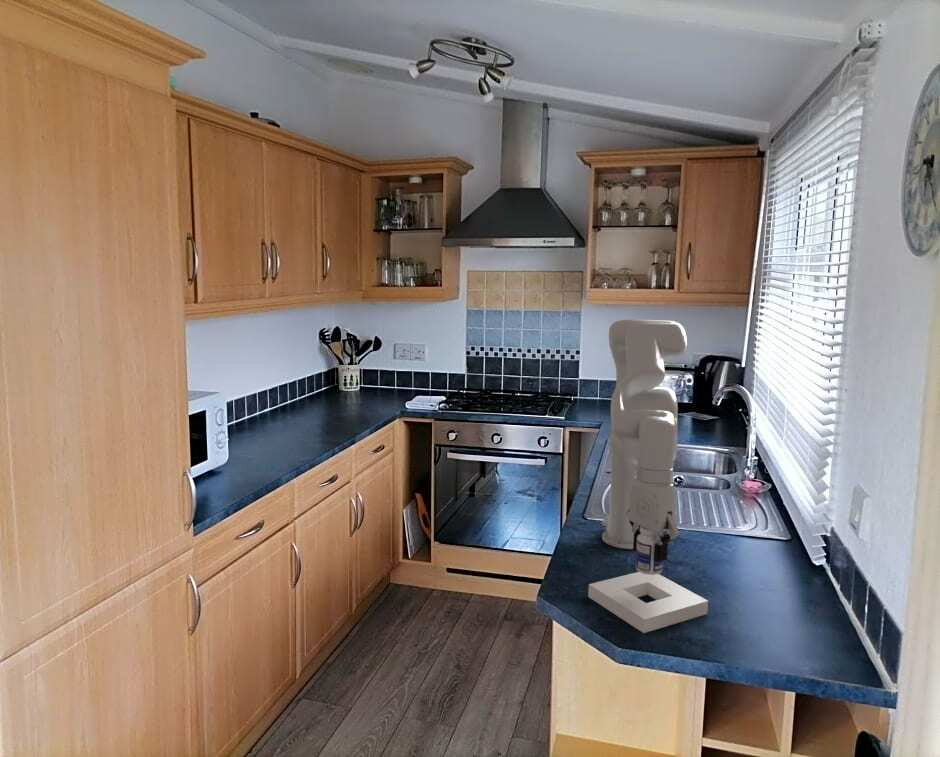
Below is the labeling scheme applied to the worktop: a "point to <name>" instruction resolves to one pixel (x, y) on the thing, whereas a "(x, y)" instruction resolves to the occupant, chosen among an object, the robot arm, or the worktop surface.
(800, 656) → the worktop surface
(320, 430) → the worktop surface
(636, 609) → the socket block
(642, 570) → the pill bottle
